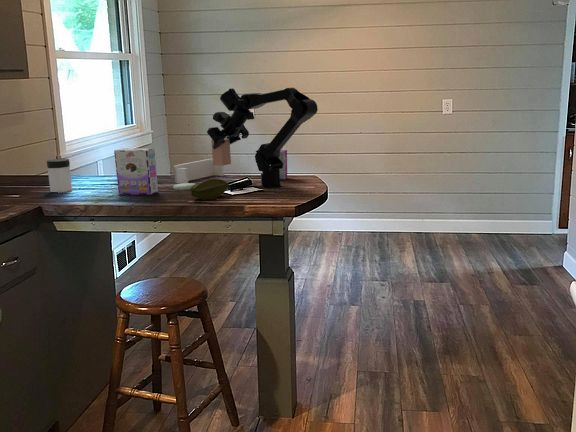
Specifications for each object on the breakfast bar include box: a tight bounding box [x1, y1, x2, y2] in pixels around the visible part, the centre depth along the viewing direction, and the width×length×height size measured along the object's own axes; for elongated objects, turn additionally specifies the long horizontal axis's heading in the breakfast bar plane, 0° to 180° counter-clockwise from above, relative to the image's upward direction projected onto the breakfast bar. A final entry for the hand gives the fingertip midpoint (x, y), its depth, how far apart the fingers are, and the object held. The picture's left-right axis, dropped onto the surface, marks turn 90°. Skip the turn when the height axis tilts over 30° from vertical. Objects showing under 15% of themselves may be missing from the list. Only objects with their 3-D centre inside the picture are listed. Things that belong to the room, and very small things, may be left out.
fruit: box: [189, 178, 230, 201], centre depth 216 cm, size 11×12×7 cm
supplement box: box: [279, 149, 288, 181], centre depth 249 cm, size 6×6×12 cm
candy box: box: [113, 147, 159, 196], centre depth 229 cm, size 14×6×16 cm, turn 71°
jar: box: [46, 158, 73, 194], centre depth 240 cm, size 9×8×12 cm
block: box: [210, 138, 232, 166], centre depth 247 cm, size 5×5×10 cm
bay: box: [173, 157, 225, 184], centre depth 256 cm, size 6×22×7 cm, turn 143°
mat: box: [172, 182, 196, 191], centre depth 238 cm, size 9×9×1 cm
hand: (218, 147), depth 247 cm, fingers closed on block, 5 cm apart
